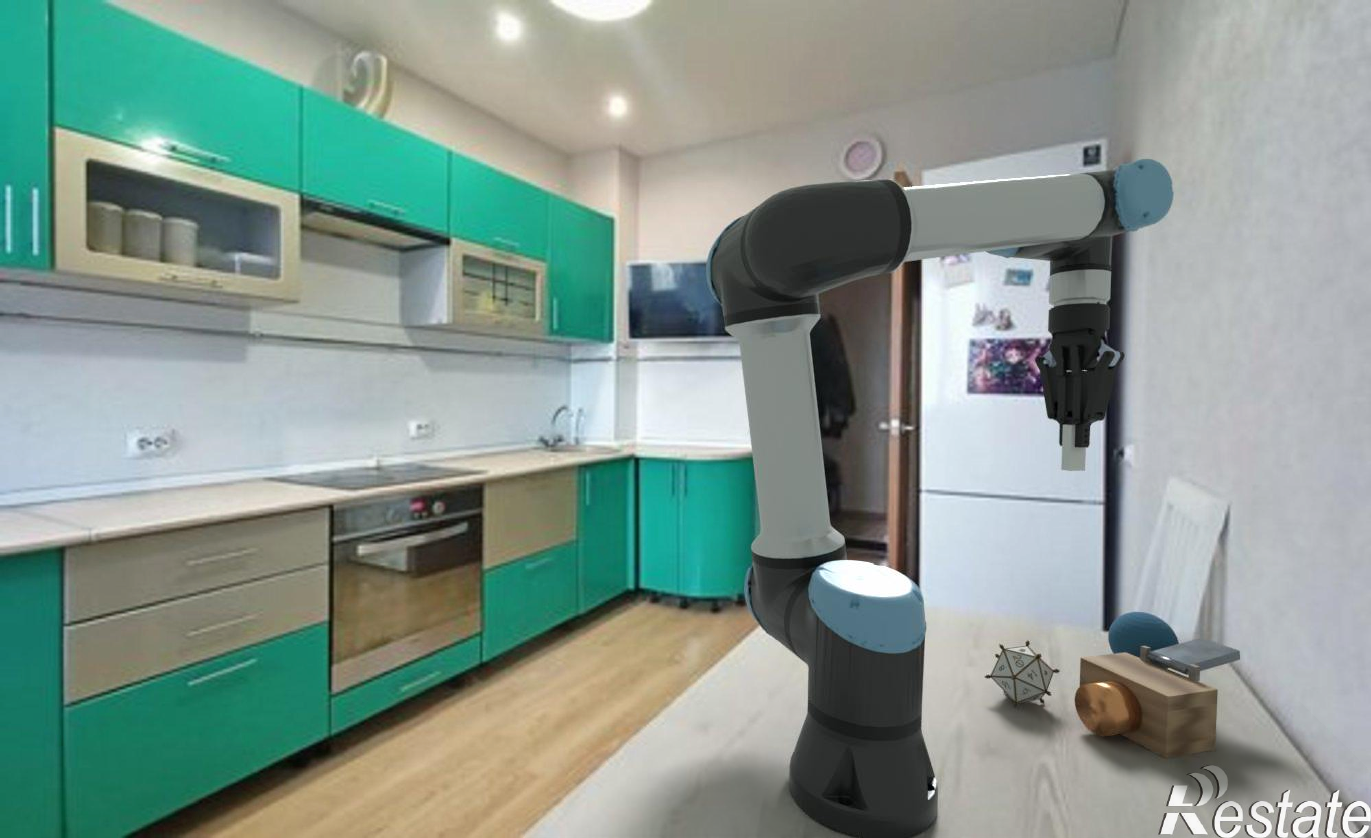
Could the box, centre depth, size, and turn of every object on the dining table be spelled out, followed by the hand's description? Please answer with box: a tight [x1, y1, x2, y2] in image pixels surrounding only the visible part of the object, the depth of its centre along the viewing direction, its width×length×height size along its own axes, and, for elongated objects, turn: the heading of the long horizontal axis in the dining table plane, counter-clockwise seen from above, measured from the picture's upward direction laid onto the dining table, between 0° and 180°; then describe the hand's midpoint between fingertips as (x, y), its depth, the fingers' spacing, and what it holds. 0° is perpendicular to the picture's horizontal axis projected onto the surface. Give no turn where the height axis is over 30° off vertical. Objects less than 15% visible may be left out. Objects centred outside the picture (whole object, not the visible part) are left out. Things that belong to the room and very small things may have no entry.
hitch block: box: [1079, 646, 1219, 759], centre depth 84 cm, size 8×12×9 cm
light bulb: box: [1107, 611, 1180, 670], centre depth 93 cm, size 8×8×12 cm
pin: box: [1074, 681, 1142, 737], centre depth 84 cm, size 16×6×6 cm, turn 106°
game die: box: [984, 639, 1061, 710], centre depth 91 cm, size 9×8×10 cm
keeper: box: [1148, 637, 1241, 676], centre depth 86 cm, size 10×5×1 cm, turn 106°
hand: (1073, 469), depth 93 cm, fingers closed
